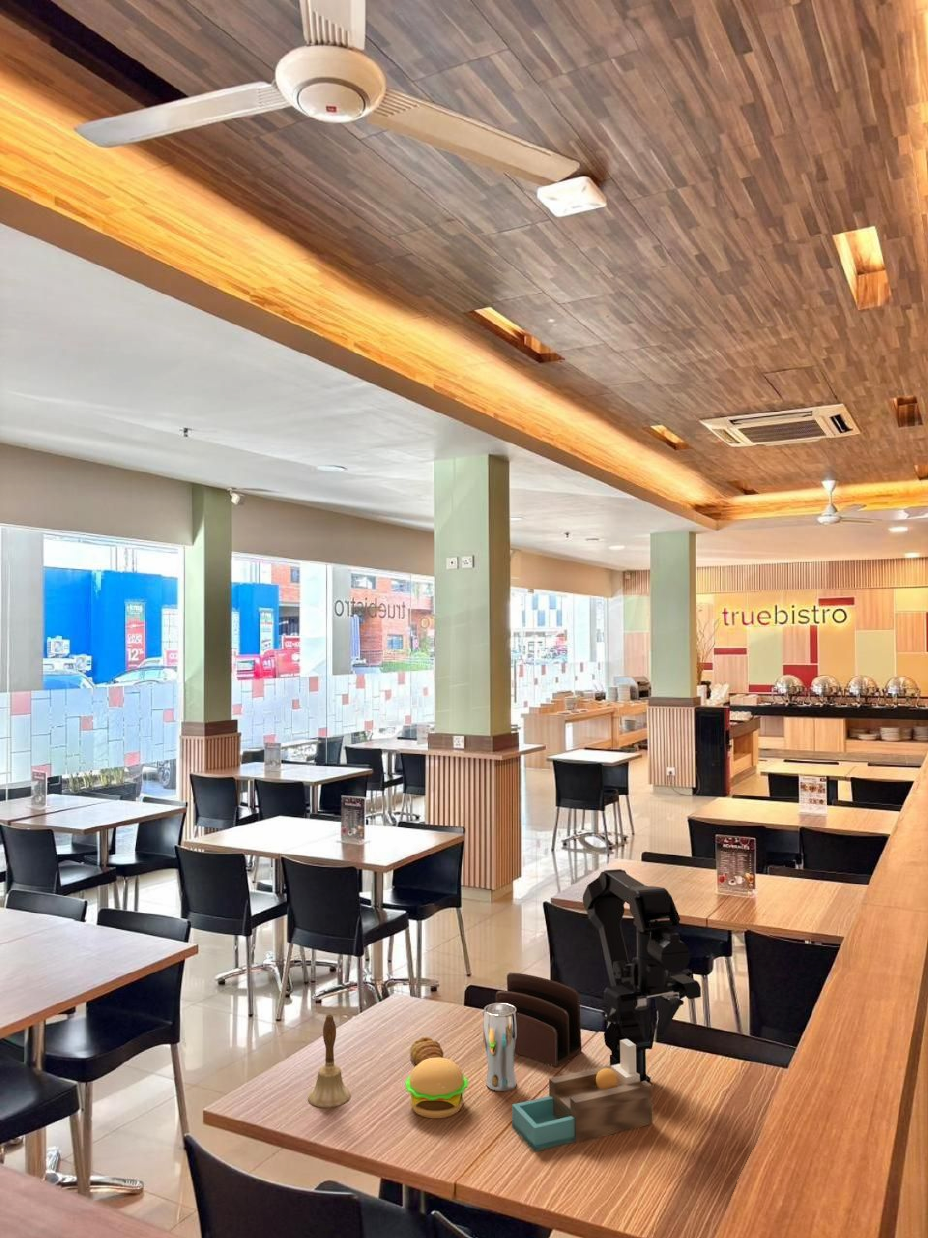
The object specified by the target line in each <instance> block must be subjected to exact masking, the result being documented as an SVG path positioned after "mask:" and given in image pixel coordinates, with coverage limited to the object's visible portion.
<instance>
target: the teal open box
mask: <svg viewBox="0 0 928 1238" xmlns="http://www.w3.org/2000/svg"><path fill="white" fill-rule="evenodd" d="M511 1128H513V1129H514V1131H515V1132H517V1134H518V1135H519V1136H520V1137H521V1138H522V1140H524V1141H525V1142H526V1144H527V1145H528V1146H529V1147H530V1148H531V1149H532V1150H533V1151H534V1152H539V1151H542V1150H547V1149H549V1148H554V1147H558V1146H563V1145H566V1144H571V1143H574V1142H575V1119H574V1118H573V1117H572V1116H570V1117H565V1118H561V1119H557V1118H556V1117H555V1116H554V1115H553V1098H552V1097H551V1096H549V1095H548V1096H544V1097H540V1098H534V1099H531V1100H527V1101H522V1102H518V1103H513V1104H511ZM575 1143H576V1142H575Z"/></svg>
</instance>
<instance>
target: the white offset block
mask: <svg viewBox="0 0 928 1238" xmlns="http://www.w3.org/2000/svg"><path fill="white" fill-rule="evenodd" d="M611 1070H613V1071H614V1072H615V1074H616V1076H617V1079H618V1083H617V1087H619V1086H623V1085H628V1084H632V1083H637V1082H640V1074H638V1073H637V1072H636V1045H635V1044H634V1043H633V1042H631V1041H630V1040H628V1039H623V1040H620V1064H617V1065H613V1066H611Z"/></svg>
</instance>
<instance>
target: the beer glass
mask: <svg viewBox="0 0 928 1238" xmlns="http://www.w3.org/2000/svg"><path fill="white" fill-rule="evenodd" d="M482 1026H483V1027H482V1028H483V1030H482V1032H483V1035H484V1039H483V1044H484V1051H485V1055H486V1059H487V1075H486V1080H485V1084H487V1086H488V1087H489V1088H490V1089H489V1088H488V1087H487V1086H486V1087H487V1088H488V1089H489V1090H491V1089H492V1091H494V1090H495V1091H494V1092H499V1091H504V1092H508V1091H512V1090H513V1089H515V1088H516V1086H517V1080H516V1074H515V1058H516V1047H517V1039H518V1023H517V1012H516V1007H515V1006H513V1005H511V1004H507V1003H496V1002H494V1003H491V1004H487V1005H486V1006H484V1008H483V1025H482ZM483 1035H482V1036H483Z"/></svg>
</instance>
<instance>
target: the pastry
mask: <svg viewBox="0 0 928 1238" xmlns="http://www.w3.org/2000/svg"><path fill="white" fill-rule="evenodd" d="M409 1051H410V1052H409V1053H410V1054H409V1057H410V1059H411V1060H412V1062H413V1063H414V1064H415V1066H417V1065H418V1064H419V1063H420V1062H422V1061H423V1060H425V1059H429V1058H444V1051H443V1049H442V1047H441V1045H440V1043H439V1042H438V1041H437V1040H433V1038H432V1037H431V1038H430V1037H427V1036H426V1037H424V1036H423V1037H420V1038H419V1039H416V1040H415V1041H414V1042H413V1044H412V1045H411V1047H410V1050H409Z"/></svg>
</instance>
